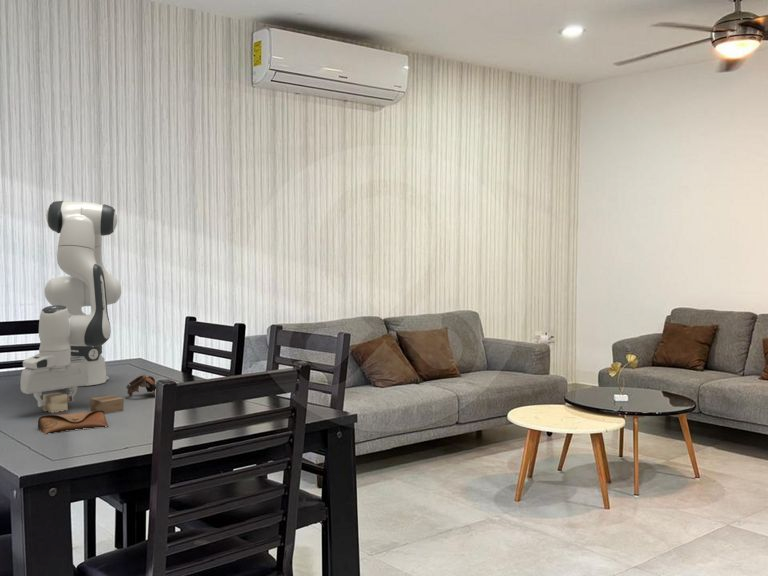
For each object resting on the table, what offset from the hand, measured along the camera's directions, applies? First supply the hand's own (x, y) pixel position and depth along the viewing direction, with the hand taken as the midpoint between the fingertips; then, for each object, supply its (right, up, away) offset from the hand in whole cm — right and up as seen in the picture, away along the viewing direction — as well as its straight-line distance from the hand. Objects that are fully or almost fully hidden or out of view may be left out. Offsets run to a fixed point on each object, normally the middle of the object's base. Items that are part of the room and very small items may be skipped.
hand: (55, 404), depth 233 cm
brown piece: (+20, -1, +23) cm, 30 cm away
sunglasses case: (+14, -4, -20) cm, 25 cm away
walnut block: (+15, -2, +1) cm, 16 cm away
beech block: (0, -2, 0) cm, 2 cm away
